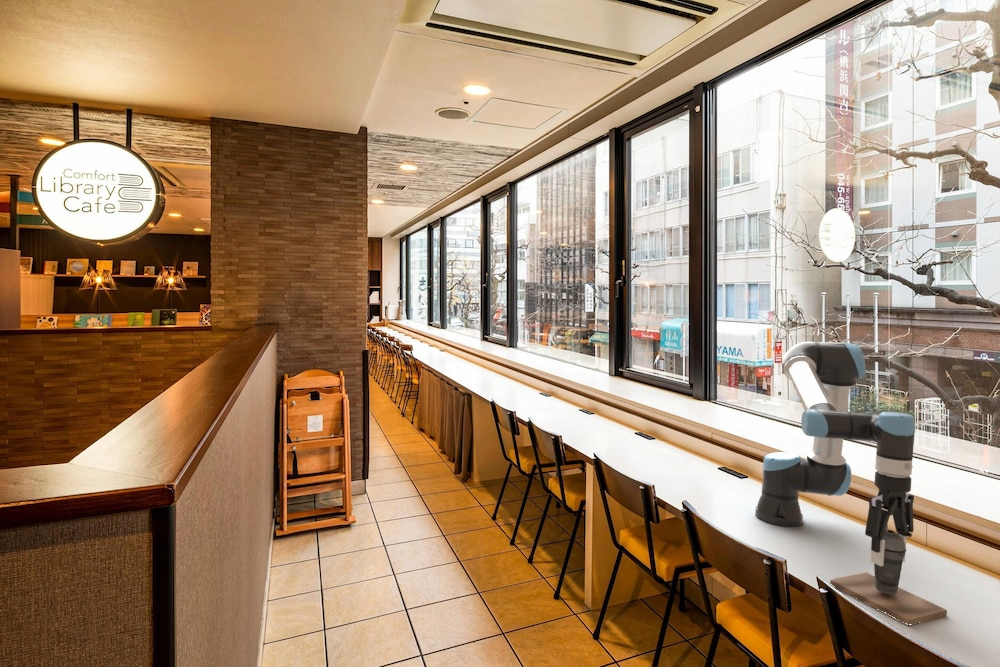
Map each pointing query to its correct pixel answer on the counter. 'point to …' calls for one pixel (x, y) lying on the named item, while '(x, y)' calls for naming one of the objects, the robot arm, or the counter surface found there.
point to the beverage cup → (890, 563)
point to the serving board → (889, 599)
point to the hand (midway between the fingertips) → (887, 561)
